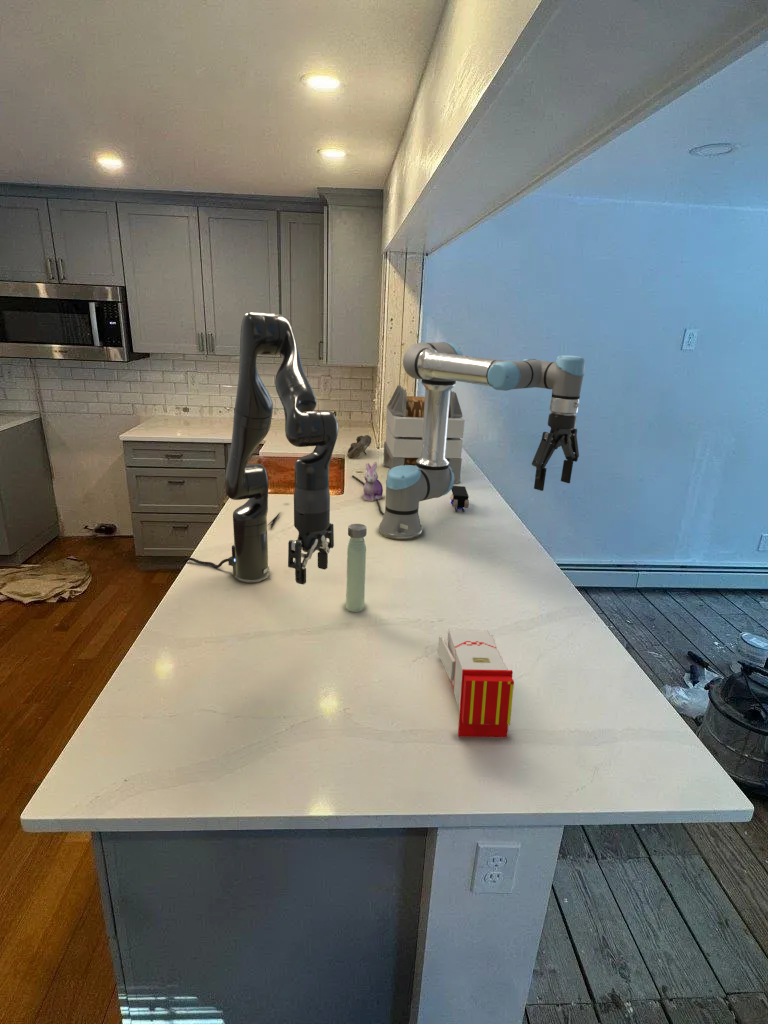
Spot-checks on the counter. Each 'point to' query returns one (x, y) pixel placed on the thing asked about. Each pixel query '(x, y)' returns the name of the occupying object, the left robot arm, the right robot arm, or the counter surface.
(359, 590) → the bottle
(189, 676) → the counter surface
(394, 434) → the grey slatted crate
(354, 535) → the cap
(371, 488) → the figurine
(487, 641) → the toy
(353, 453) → the fossil
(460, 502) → the figurine character
